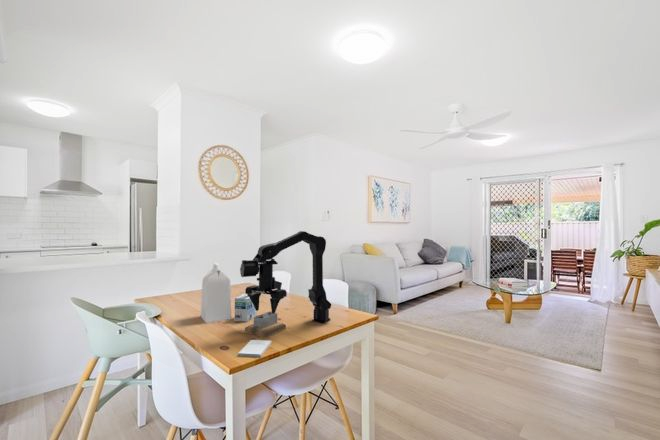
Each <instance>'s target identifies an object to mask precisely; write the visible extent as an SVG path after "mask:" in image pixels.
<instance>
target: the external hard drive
mask: <svg viewBox="0 0 660 440" xmlns="http://www.w3.org/2000/svg"><path fill="white" fill-rule="evenodd" d="M271 344H272V340H270V339H269V340H268V339H267V340H265V339H263V340H262V339H251V340H249V342H247V343H246V345H244V347H242V348H241V349H240V351H239V352H238V353H237V357H243V356H245V357H246V358H247V357H248V358H261V357H262V356H263V355H264V354H265V352H266V351H267V350H268V349H269V347H270V346H271ZM245 357H244V358H245Z"/></svg>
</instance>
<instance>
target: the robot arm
mask: <svg viewBox="0 0 660 440" xmlns="http://www.w3.org/2000/svg"><path fill="white" fill-rule="evenodd" d="M300 242H304V243H306V244H308V246H309V249H310V250H309V251H310V253H311V255H312V286H311V289H310V288H308V290H307V291H308V297H307V298H308V300H309V301H310V302H311V303H312V306H313V307H314V309H313V319H312V322H317V323H322V324H325V323H327V322H329V321H330V320H331V317H330V313H329V312H330V309H331V308H332V303H331V302H330V301H329V300H328V299H327V293H326V290H325V288H324V279H323V278H324V275H323V274H324V273H323V271H324V270H323V269H324V268H323V267H324V266H323V265H324V264H323V263H324V259H323V257H324V256H323V255H324V253H325V251H326V247H327V240H326V238H325V237H324V236H318V235H314V234H312V233H308V232H307V231H304V230H303V231H301V230H299V231H298V232H296V233H294V234H292V235H290V236H287V237H285V238H283V239H280V240H279V241H277V242H274V243H268V244H264V245H261V246H260V247H258V250H257V253H256V255H255V256H254V258H252V260H251V259H250V260H246V259H243V260H241V265H240V267H239V272H240V277H241V278H247V277H256V276H257V275H258V277H256V281H258V285H256V284H255V285H249V286H246V288H245V290H244V291H245V293H244V294H248V295H247V296H249V298H250V299H251V301H252V303H253V305H254V307H255V309H256V311H257V312H258V311H259V309H260V297H261V295H263V294H264V295H269V296H270V299H269V303H270V307H271V308H270V309H271V312H272V314H275V313H276V311H277V308H278V305H279V303H280V301H281V300H283V299H285V297H287V295H288V293H287V290H286V289H283V288H282V285H283V284H282V283H283V282H280V281H278V280H276V278H275V276H273V274H274V273H273V272H274V269H273V268H274V265H278V261H276V260H275V257H276V256H278V255H279V254H280V253H281V252H283V250H287V249H288V248H290V247H292V246H295V245H296V244H298V243H300Z"/></svg>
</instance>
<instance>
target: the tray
mask: <svg viewBox="0 0 660 440" xmlns="http://www.w3.org/2000/svg"><path fill="white" fill-rule="evenodd" d="M286 327H287V326H286V324H285V323H283V322H278V321H277V323H275V324H273V325H271V326H268V327H266V328H263V329H261V328H257V327H254V323H252V324H249V325H247V326H245V327H244V333H245V334H246V333H247V334H249V335H254V336H258V337H261V338H265V339H267V338H269V337H272V336H274V335H276V334H278V333H281V332H282V331H284V330H286V329H287V328H286Z"/></svg>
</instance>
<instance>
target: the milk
mask: <svg viewBox="0 0 660 440" xmlns="http://www.w3.org/2000/svg"><path fill="white" fill-rule="evenodd" d="M220 266H221V265H220V263H215V262H214V263H213V267H212V269H211V270H210V271H208V272H207V273H206V275H204V277H203V278H202V282H201V283H202V285H201V300H200V301H201V302H200V303H201V305H200V318H202V319H201V320H203V321H204V323H205V324H209V323H215V322H221V321H226V320H231V319H232V317H233V316H232V295H231V293H232V291H231V290H232V289H231V280H230V278H229V277H228V276H227V274H224V272H222V270H221V267H220Z"/></svg>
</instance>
